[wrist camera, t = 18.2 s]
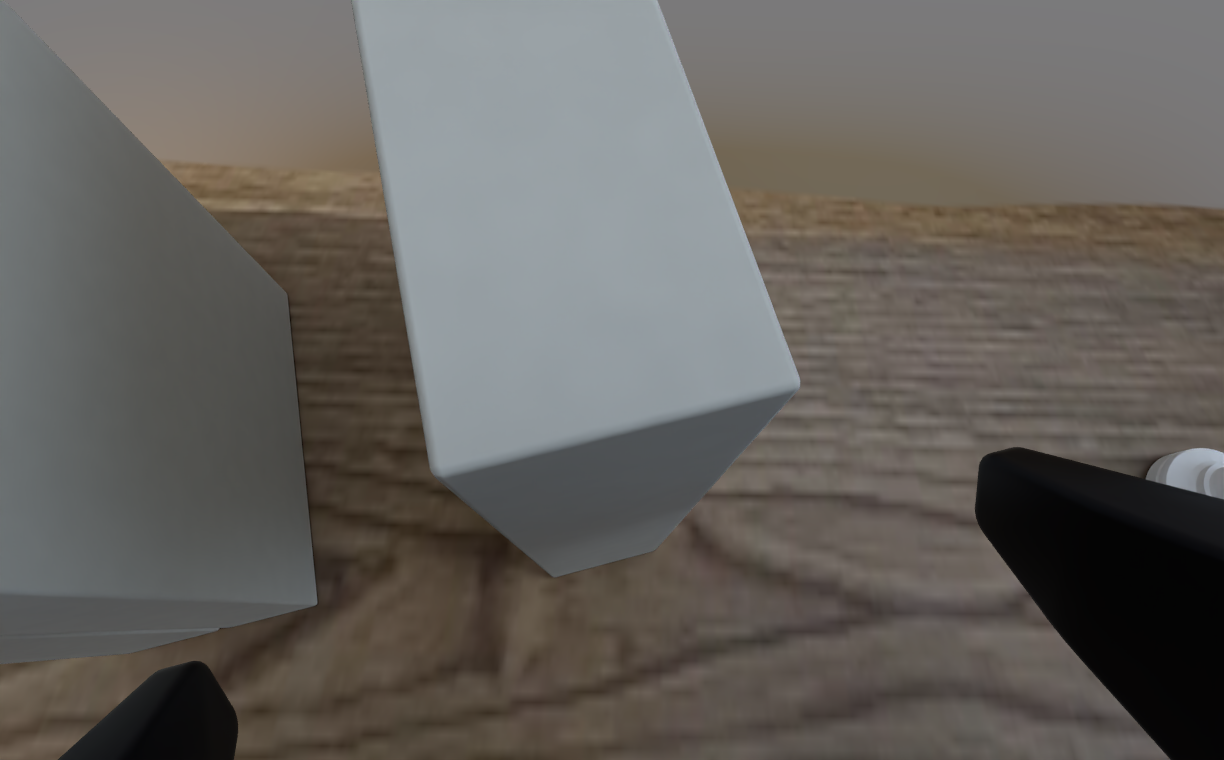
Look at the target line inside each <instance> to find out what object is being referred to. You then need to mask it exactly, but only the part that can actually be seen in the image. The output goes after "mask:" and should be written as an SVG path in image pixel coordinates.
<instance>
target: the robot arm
mask: <svg viewBox="0 0 1224 760" xmlns="http://www.w3.org/2000/svg"><path fill="white" fill-rule="evenodd" d="M975 514H976V519H977V522H978V524H979V526H980V528H981V530H982V531H983V533H984V534H985V536H986V537H987V538H988V540H989V541H990V542H991V544H992V545H993V546H994V548H995V549H996V550H997V552H998V553H999V554H1000V556H1001V557H1002V558H1003V560H1004V561H1005V562H1006V564H1007V565H1008V567H1009V568H1010V569H1011V571H1012V572H1013V573H1014V575H1015V576H1016V577H1017V579H1018V580H1019V581H1020V583H1021V584H1022V585H1023V587H1024V588H1025V589H1026V591H1027V592H1028V593H1029V595H1030V596H1031V597H1032V599H1033V600H1034V601H1035V603H1036V604H1037V605H1038V607H1039V608H1040V610H1041V611H1042V612H1043V614H1044V615H1045V616H1046V618H1047V619H1048V620H1049V622H1050V623H1051V624H1052V625H1053V627H1054V628H1055V629H1056V630H1057V632H1058V633H1059V634H1060V635H1061V637H1062V638H1063V639H1064V640H1065V642H1066V643H1067V644H1068V645H1069V646H1070V647H1071V649H1072V650H1073V651H1074V652H1075V653H1076V654H1077V656H1078V657H1079V658H1080V659H1081V660H1082V661H1083V662H1084V663H1085V665H1086V666H1087V667H1088V668H1089V669H1090V670H1091V671H1092V672H1093V673H1094V675H1095V676H1096V677H1097V678H1098V679H1099V680H1100V681H1101V682H1102V684H1103V685H1104V686H1105V687H1106V688H1107V689H1108V690H1109V691H1110V692H1111V694H1112V695H1113V696H1114V697H1115V698H1116V699H1117V700H1118V701H1119V702H1120V704H1121V705H1122V706H1123V707H1124V708H1125V709H1126V710H1127V711H1128V712H1129V714H1130V715H1131V716H1132V717H1133V718H1134V719H1135V720H1136V721H1137V722H1138V724H1139V725H1140V726H1141V727H1142V728H1143V729H1144V730H1145V731H1146V733H1147V734H1148V735H1149V736H1150V737H1151V738H1152V739H1153V740H1154V741H1155V743H1156V744H1157V745H1158V746H1159V747H1160V748H1161V749H1162V750H1163V751H1164V753H1165V754H1166V755H1167V756H1168V757H1169V758H1170V759H1171V760H1224V499H1220V498H1216V497H1212V496H1209V495H1205V494H1201V493H1197V492H1193V491H1189V490H1185V489H1181V488H1177V487H1173V486H1170V485H1166V484H1162V483H1158V482H1154V481H1150V480H1146V479H1142V478H1138V477H1135V476H1131V475H1127V474H1123V473H1119V472H1115V471H1111V470H1107V469H1103V468H1099V467H1096V466H1092V465H1088V464H1084V463H1080V462H1076V461H1072V460H1068V459H1064V458H1061V457H1057V456H1053V455H1049V454H1045V453H1041V452H1037V451H1033V450H1029V449H1025V448H1021V447H1013V448H1009V449H1005V450H1001V451H997V452H993V453H989V454H987V455H986V456H984V457H983V458H982V460H981V462H980V464H979V472H978V482H977V493H976V503H975ZM237 737H238V721H237V716H236V713H235V710H234V708H233V706H232V705H231V703H230V701H229V700H228V698H227V697H226V695H225V693H224V692H223V690H222V688H221V687H220V685H219V683H218V682H217V680H216V678H215V677H214V675H213V674H212V672H211V670H210V669H209V668H208V666H207V665H206V664H204V663H202V662H200V661H191V662H187V663H183V664H180V665H176V666H172V667H168V668H164V669H162V670H159V671H157V672H155V673H154V674H153V675H151V676H150V677H149V678H148V679H147V680H146V681H145V682H143V683H142V684H141V685H140V686H139V687H138V688H137V689H136V690H135V691H133V692H132V693H131V694H130V695H129V696H128V697H127V698H126V699H125V700H123V701H122V702H121V703H120V704H119V705H118V706H117V707H116V708H115V709H113V710H112V711H111V712H110V713H109V714H108V715H107V716H106V717H105V718H104V719H102V720H101V721H100V722H99V723H98V724H97V725H96V726H95V727H94V728H92V729H91V730H90V731H89V732H88V733H87V734H86V735H85V736H84V737H82V738H81V739H80V740H79V741H78V742H77V743H76V744H75V745H74V746H72V747H71V748H70V749H69V750H68V751H67V752H66V753H65V754H64V755H62V756H61V757H60V758H59V759H58V760H234V756H235V749H236V743H237Z"/></svg>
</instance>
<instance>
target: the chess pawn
mask: <svg viewBox="0 0 1224 760" xmlns="http://www.w3.org/2000/svg"><path fill="white" fill-rule="evenodd" d="M1146 480H1150V481H1154V482H1158V483H1162V484H1166V485H1170V486H1173V487H1177V488H1181V489H1185V490H1189V491H1193V492H1197V493H1201V494H1205V495H1209V496H1212V497H1216V498H1220V499H1224V453H1222V452H1219V451H1216V450H1213V449H1206V448H1196V449H1189V450H1185V451H1181V452H1177V453H1173V454H1170V455H1166V456H1164V457H1162V458H1160V459H1158V460H1157V461H1156V462H1155V463H1154V464H1153V465H1152V466H1151V468H1150V469H1149V471H1148V473H1147V476H1146Z"/></svg>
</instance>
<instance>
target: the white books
mask: <svg viewBox="0 0 1224 760" xmlns="http://www.w3.org/2000/svg"><path fill="white" fill-rule="evenodd" d="M315 605H317V592H316V582H315V571H314V561H313V551H312V541H311V531H310V520H309V510H308V500H307V490H306V480H305V469H304V459H303V449H302V439H301V428H300V418H299V408H298V398H297V388H296V377H295V367H294V357H293V347H292V337H291V326H290V316H289V306H288V296H287V293H286V292H285V291H284V290H283V289H282V288H281V287H280V286H279V285H278V284H277V283H276V282H275V281H274V279H273V278H272V277H271V276H270V275H269V274H268V273H267V272H266V271H265V270H264V269H263V268H262V267H261V266H260V265H259V264H258V263H257V262H256V261H255V260H254V259H253V258H252V257H251V256H250V255H249V254H248V253H247V252H246V251H245V249H244V248H243V247H242V246H241V245H240V244H239V243H238V242H237V241H236V240H235V239H234V238H233V237H232V236H231V235H230V234H229V233H228V232H227V231H226V230H225V229H224V228H223V227H222V226H221V225H220V224H219V223H218V222H217V220H216V219H215V218H214V217H213V216H212V215H211V214H210V213H209V212H208V211H207V210H206V209H205V208H204V207H203V206H202V205H201V204H200V203H199V202H198V201H197V200H196V199H195V198H194V197H193V196H192V195H191V194H190V193H189V191H188V190H187V189H186V188H185V187H184V186H183V185H182V184H181V183H180V182H179V181H178V180H177V179H176V178H175V177H174V176H173V175H172V174H171V173H170V172H169V171H168V170H167V169H166V168H165V167H164V166H163V165H162V164H161V162H160V161H159V160H158V159H157V158H156V157H155V156H154V155H153V154H152V153H151V152H150V151H149V150H148V149H147V148H146V147H145V146H144V145H143V144H142V143H141V142H140V141H139V140H138V139H137V138H136V137H135V136H134V135H133V134H132V132H131V131H129V129H128V128H127V127H126V126H125V125H124V124H123V123H122V122H121V121H120V120H119V119H118V118H117V117H116V116H115V115H114V114H113V113H112V112H111V111H110V110H109V109H108V108H107V107H106V106H105V104H104V103H103V102H102V101H101V100H100V99H99V98H98V97H97V96H96V95H95V94H94V93H93V92H92V91H91V90H90V89H89V88H88V87H87V86H86V85H85V84H84V83H83V82H82V81H81V80H80V79H79V78H78V77H77V76H76V75H75V73H74V72H73V71H72V70H71V69H70V68H69V67H68V66H67V65H66V64H65V63H64V62H63V61H62V60H61V59H60V58H59V57H58V56H57V55H56V54H55V53H54V52H53V51H52V50H51V49H50V48H49V46H48V45H47V44H46V43H45V42H44V41H43V40H42V39H41V38H40V37H39V36H38V35H37V34H36V33H35V32H34V31H33V30H32V29H31V28H30V27H29V26H28V25H27V24H26V23H25V22H24V21H23V20H22V19H21V18H20V17H19V15H17V13H16V12H15V11H14V10H13V9H12V8H11V7H10V6H9V5H8V4H7V3H6V2H5V1H4V0H0V664H7V663H20V662H32V661H44V660H57V659H69V658H81V657H94V656H106V655H118V654H129V653H133V652H137V651H141V650H145V649H149V648H153V647H157V646H161V645H165V644H169V643H172V642H176V641H180V640H184V639H188V638H192V637H196V636H200V635H204V634H208V633H211V632H215V631H217V630H219V628H231V627H235V626H239V625H243V624H246V623H250V622H254V621H258V620H262V619H266V618H270V617H274V616H278V615H282V614H285V613H289V612H293V611H297V610H301V609H305V608H309V607H313V606H315Z"/></svg>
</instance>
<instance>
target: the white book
mask: <svg viewBox="0 0 1224 760" xmlns="http://www.w3.org/2000/svg"><path fill="white" fill-rule="evenodd" d="M351 3H352V9H353V15H354V21H355V27H356V33H357V39H358V45H359V50H360V57H361V63H362V68H363V75H364V80H365V86H366V92H367V98H368V104H369V109H370V116H371V121H372V128H373V134H374V140H375V146H376V152H377V158H378V163H379V169H380V175H381V181H382V187H383V193H384V199H385V205H386V211H387V217H388V223H389V229H390V235H391V241H392V246H393V252H394V258H395V264H396V270H397V276H398V282H399V288H400V294H401V300H402V306H403V312H404V318H405V324H406V329H407V335H408V341H409V347H410V353H411V359H412V365H413V371H414V377H415V383H416V389H417V395H418V401H419V407H420V413H421V418H422V424H423V430H424V436H425V442H426V448H427V454H428V460H429V466H430V470H431V472H432V473H433V475H434V476H435V478H436V479H437V480H439V481H440V482H441V483H442V484H443V485H445V486H446V487H447V488H448V489H449V490H450V491H452V492H453V493H454V494H455V495H456V496H458V497H459V498H460V499H461V500H462V501H463V502H465V503H466V504H467V505H468V506H469V507H471V508H472V509H473V510H474V511H475V512H476V513H478V514H479V515H480V516H481V517H482V518H483V519H485V520H486V521H487V522H488V523H489V524H491V525H492V526H493V527H494V528H495V529H496V530H498V531H499V532H500V533H501V534H502V535H504V536H505V537H506V538H507V539H508V540H509V541H511V542H512V543H513V544H514V545H515V546H517V547H518V548H519V549H520V550H521V551H522V552H524V553H525V554H526V555H527V556H528V557H529V558H531V559H532V560H533V561H534V562H535V563H537V564H538V565H539V566H540V567H541V568H542V569H544V570H545V571H546V572H547V573H548V574H550V575H551V576H552V577H558V576H562V575H566V574H570V573H573V572H577V571H581V570H585V569H588V568H592V567H596V566H600V565H603V564H607V563H611V562H614V561H618V560H622V559H626V558H629V557H633V556H637V555H641V554H644V553H648V552H652V551H655V550H656V549H657V548H658V547H659V545H660V544H661V543H662V542H663V541H664V540H665V539H666V538H667V536H668V535H669V534H670V533H671V532H672V531H673V530H674V529H675V527H676V526H677V525H678V524H679V523H680V522H681V521H682V520H683V518H684V517H685V516H686V515H687V514H688V513H689V512H690V511H691V510H692V508H693V507H694V506H695V505H696V504H697V503H698V502H699V501H700V499H701V498H702V497H703V496H704V495H705V494H706V493H707V492H708V490H709V489H710V488H711V487H712V486H713V485H714V484H715V483H716V481H717V480H718V479H719V478H720V477H721V476H722V475H723V474H724V473H725V471H726V470H727V469H728V468H729V467H730V466H731V465H732V464H733V462H734V461H735V460H736V459H737V458H738V457H739V456H740V455H741V453H742V452H743V451H744V450H745V449H746V448H747V447H748V446H749V444H750V443H751V442H752V441H753V440H754V439H755V438H756V437H757V436H758V434H759V433H760V432H761V431H762V430H763V429H764V428H765V427H766V425H767V424H768V423H769V422H770V421H771V420H772V419H773V418H774V416H775V415H776V414H777V413H778V412H779V411H780V410H781V409H782V408H783V406H784V405H785V404H786V403H787V402H788V401H789V400H790V399H791V397H792V396H793V395H794V394H795V393H796V392H797V391H798V390H799V388H800V378H799V375H798V372H797V370H796V367H795V364H794V362H793V359H792V356H791V354H790V351H789V348H788V346H787V343H786V340H785V338H784V335H783V333H782V330H781V327H780V325H779V322H778V319H777V317H776V314H775V311H774V309H773V306H772V303H771V301H770V298H769V295H768V293H767V290H766V287H765V285H764V282H763V279H762V277H761V274H760V271H759V269H758V266H757V263H756V261H755V258H754V255H753V253H752V250H751V248H750V245H749V242H748V240H747V237H746V234H745V232H744V229H743V226H742V224H741V221H740V218H739V216H738V213H737V210H736V208H735V205H734V202H733V200H732V197H731V194H730V192H729V189H728V186H727V184H726V181H725V178H724V176H723V173H722V171H721V168H720V166H719V163H718V160H717V157H716V155H715V152H714V149H713V147H712V144H711V141H710V139H709V136H708V133H707V131H706V128H705V125H704V123H703V120H702V117H701V115H700V112H699V110H698V107H697V104H696V101H695V99H694V96H693V94H692V91H691V88H690V86H689V83H688V80H687V78H686V75H685V72H684V70H683V67H682V64H681V62H680V59H679V56H678V54H677V51H676V48H675V46H674V43H673V40H672V38H671V35H670V33H669V30H668V27H667V24H666V22H665V19H664V16H663V14H662V11H661V9H660V6H659V3H658V1H657V0H351Z"/></svg>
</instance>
